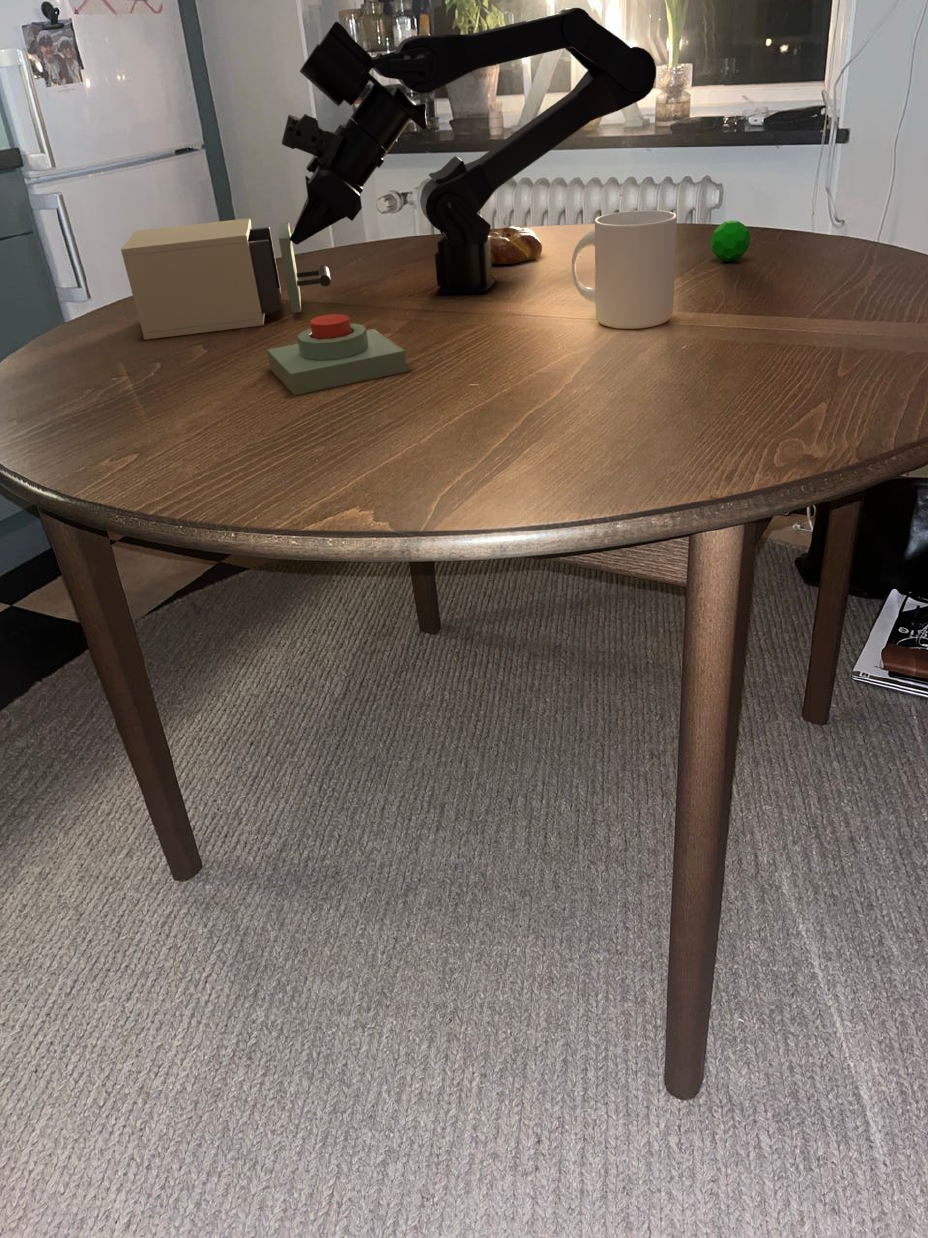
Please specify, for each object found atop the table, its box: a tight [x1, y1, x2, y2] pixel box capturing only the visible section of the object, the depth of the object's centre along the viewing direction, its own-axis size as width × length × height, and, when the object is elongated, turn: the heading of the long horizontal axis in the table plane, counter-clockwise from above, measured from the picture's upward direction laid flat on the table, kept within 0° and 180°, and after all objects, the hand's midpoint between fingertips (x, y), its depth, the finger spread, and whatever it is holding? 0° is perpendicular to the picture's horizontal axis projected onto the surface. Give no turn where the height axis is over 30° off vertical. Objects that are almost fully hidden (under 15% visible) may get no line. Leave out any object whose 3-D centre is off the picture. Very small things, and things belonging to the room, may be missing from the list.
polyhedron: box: [710, 220, 751, 262], centre depth 125 cm, size 5×5×5 cm
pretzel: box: [489, 226, 543, 265], centre depth 137 cm, size 12×11×4 cm
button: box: [309, 313, 352, 339], centre depth 96 cm, size 4×4×2 cm
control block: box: [266, 322, 408, 396], centre depth 97 cm, size 12×10×4 cm
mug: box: [571, 209, 678, 330], centre depth 104 cm, size 9×12×11 cm
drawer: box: [248, 221, 332, 314], centre depth 119 cm, size 18×11×9 cm, turn 99°
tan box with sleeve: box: [120, 217, 266, 341], centre depth 118 cm, size 15×13×11 cm
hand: (293, 241), depth 118 cm, fingers closed, pressing on drawer
